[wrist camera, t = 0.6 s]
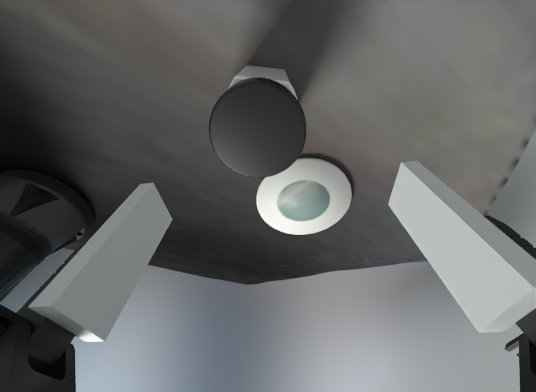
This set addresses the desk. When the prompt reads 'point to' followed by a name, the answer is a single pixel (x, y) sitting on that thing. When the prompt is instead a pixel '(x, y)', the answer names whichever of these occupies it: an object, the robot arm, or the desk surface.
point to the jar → (258, 123)
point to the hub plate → (304, 197)
